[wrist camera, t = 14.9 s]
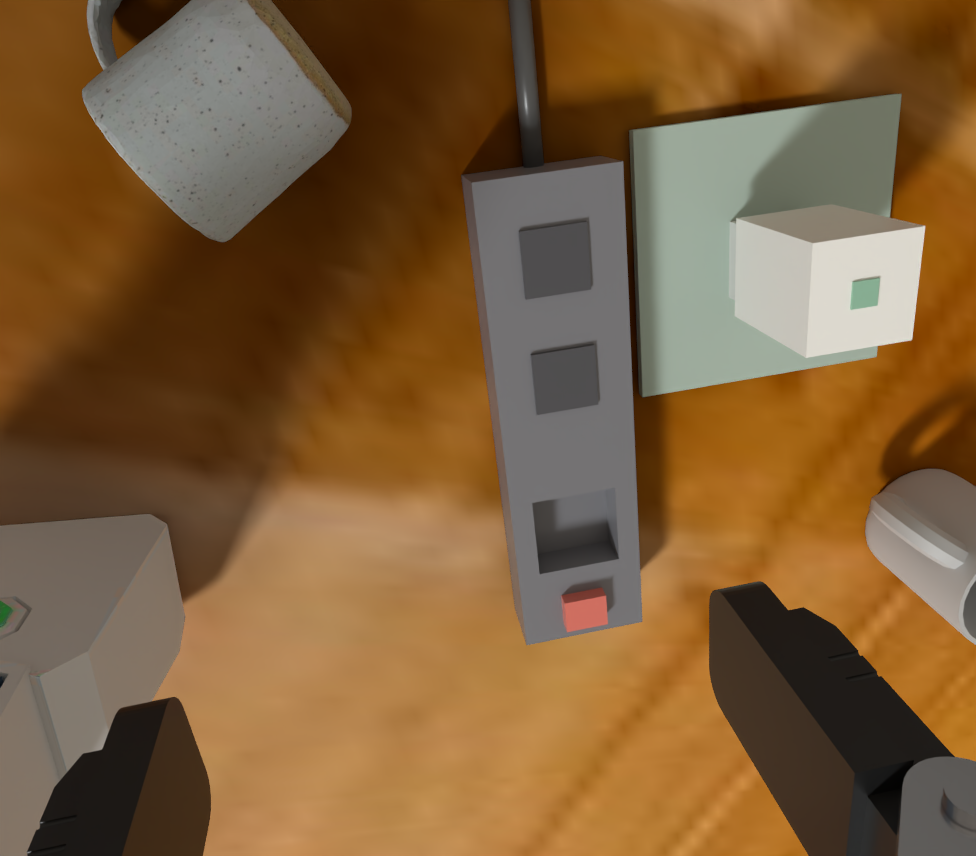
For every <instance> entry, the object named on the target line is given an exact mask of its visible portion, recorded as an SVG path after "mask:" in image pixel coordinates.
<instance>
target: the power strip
mask: <svg viewBox="0 0 976 856" xmlns="http://www.w3.org/2000/svg"><path fill="white" fill-rule="evenodd" d="M508 5H509V16H510V27H511V38H512V49H513V59H514V70H515V81H516V92H517V103H518V114H519V124H520V135H521V146H522V157H523V166H522V167H515V168H508V169H501V170H494V171H487V172H479V173H472V174H465V175H461V177H462V186H463V194H464V202H465V210H466V218H467V226H468V234H469V242H470V250H471V258H472V266H473V274H474V282H475V290H476V298H477V306H478V314H479V322H480V330H481V338H482V347H483V355H484V363H485V371H486V379H487V387H488V395H489V403H490V411H491V419H492V427H493V435H494V443H495V451H496V459H497V467H498V475H499V483H500V491H501V499H502V507H503V516H504V524H505V532H506V540H507V548H508V556H509V564H510V572H511V580H512V588H513V596H514V604H515V610H516V613H517V616H518V620H519V623H520V626H521V629H522V632H523V635H524V638H525V642H526V645H530V644H535V643H540V642H545V641H550V640H554V639H559V638H564V637H569V636H574V635H579V634H584V633H589V632H594V631H599V630H604V629H609V628H614V627H619V626H624V625H629V624H634V623H638V622H642V602H641V578H640V554H639V530H638V506H637V482H636V458H635V434H634V410H633V386H632V362H631V338H630V314H629V290H628V266H627V242H626V218H625V194H624V170H623V161H620V160H616V159H612V158H608V157H604V156H594V157H587V158H580V159H573V160H565V161H558V162H551V163H544V158H543V146H542V134H541V121H540V109H539V97H538V85H537V72H536V60H535V48H534V36H533V24H532V11H531V0H508Z"/></svg>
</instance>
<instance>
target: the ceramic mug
mask: <svg viewBox="0 0 976 856" xmlns="http://www.w3.org/2000/svg"><path fill="white" fill-rule="evenodd" d="M121 1H122V0H88V6H87V21H88V30H89V34H90V38H91V42H92V46H93V48H94V51H95V54H96V56H97V58H98V61H99V62H100V64H101V66H102V68H103V70H104V71H103V72H101V73H100V74H99V75H97V76H96V77H95V78H94V79H93V80H92V81H90V82H89V83H88V84H87V85H86V86H85V87H84V89H83V90H82V96H83V100H84V104H85V106H86V107H87V109H88V112H89V114H90V115H91V117H92V119H93V120H94V122H95V123H96V125H97V126H98V127H99V128H100V130H101V131H102V132H103V134H104V136H105V137H106V139H107V140H108V141H109V142H110V144H111V145H112V146H113V147H114V149H115V150H116V151H117V153H118V154H119V155H120V156H121V157H122V158H123V159H124V160H125V162H126V163H127V164H128V165H129V166H130V167H131V168H132V169H133V171H134V172H135V173H136V174H137V175H138V176H139V177H140V178H141V179H142V180H143V181H144V182H145V183H146V185H147V186H148V187H150V188H151V189H152V190H153V191H154V192H155V193H156V194H157V195H158V196H159V197H160V198H161V199H162V200H163V201H164V202H165V203H166V204H167V205H168V206H169V207H170V208H171V209H172V210H173V211H174V212H175V213H176V214H177V215H178V216H179V217H180V218H181V219H183V220H184V221H185V222H186V223H188V224H189V225H190V226H191V227H193V228H195V229H196V230H198V231H200V232H201V233H202V234H203V235H205V236H206V237H208V238H210V239H212V240H215V241H218V242H226V241H228V240H230V239H231V238H232V237H233V236H235V235H236V234H237V233H238V232H239V231H240V230H241V229H242V228H243V227H244V226H245V225H247V224H248V223H249V222H250V221H251V220H252V219H253V218H254V217H255V216H256V215H258V214H259V213H260V212H261V211H262V210H263V209H264V208H265V207H266V206H268V205H269V204H270V203H271V202H272V201H273V200H275V199H276V198H277V197H278V196H279V195H280V194H281V193H282V192H283V191H284V190H286V189H287V188H288V187H289V186H290V185H291V184H292V183H293V182H294V181H295V180H296V179H297V178H298V177H300V176H301V175H302V174H303V173H304V172H305V171H306V170H308V169H309V168H310V167H311V166H312V165H313V164H315V163H316V162H317V161H318V160H319V159H320V158H322V157H323V156H324V155H325V154H326V153H327V152H328V151H330V150H331V149H332V147H333V146H334V145H335V143H336V142H337V141H338V140H339V138H340V137H341V136H342V135H343V134H344V132H345V131H346V130H347V128H348V127H349V125H350V123H351V117H352V109H351V106H350V103H349V102H348V100H347V99H346V97H345V96H344V95H343V93H342V92H341V90H340V89H339V88H338V86H337V85H336V84H335V82H334V81H333V80H332V78H331V77H330V75H329V74H328V73H327V72H326V70H325V69H324V68H323V66H322V65H321V64H320V62H319V61H318V60H317V58H316V57H315V56H314V54H313V53H312V51H311V50H310V49H309V47H308V46H307V45H306V43H305V42H304V41H303V39H302V38H301V37H300V36H299V34H298V33H297V32H296V31H295V29H294V28H293V27H292V26H291V25H290V23H289V22H288V21H287V20H286V18H285V17H284V16H283V15H282V13H281V12H280V11H279V10H278V8H277V7H276V6H275V5H274V3H273V2H272V1H271V0H191V1H190V2H189V3H188V4H186V5H185V6H184V7H183V8H182V9H181V10H180V11H179V12H177V13H176V14H175V15H174V16H173V17H172V18H171V19H170V20H168V21H167V22H166V23H165V24H163V25H162V26H161V27H160V28H158V29H157V30H156V31H154V32H153V33H152V34H150V35H149V36H148V37H146V38H145V39H144V40H142V41H141V42H140V43H139V44H137V45H136V46H135V47H133V48H132V49H131V50H130V51H128V52H127V53H126V54H125V55H123V56H122V57H121V58H120V59H117V56H116V53H115V49H114V45H113V41H112V22H113V16H114V13H115V11H116V9H117V8H118V7H119V5H120V2H121Z"/></svg>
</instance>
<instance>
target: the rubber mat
mask: <svg viewBox="0 0 976 856" xmlns="http://www.w3.org/2000/svg"><path fill="white" fill-rule="evenodd" d="M901 95H902V94H889V95H882V96H875V97H867V98H860V99H853V100H845V101H838V102H831V103H824V104H816V105H809V106H802V107H794V108H787V109H780V110H772V111H765V112H758V113H750V114H743V115H736V116H728V117H721V118H714V119H707V120H699V121H692V122H685V123H677V124H670V125H663V126H655V127H648V128H641V129H633V130H629V141H630V168H631V194H632V220H633V246H634V273H635V299H636V325H637V351H638V378H639V394H640V395H641V396H642V397H647V396H653V395H659V394H664V393H670V392H676V391H682V390H688V389H693V388H699V387H705V386H711V385H716V384H722V383H728V382H734V381H740V380H745V379H751V378H757V377H763V376H769V375H774V374H780V373H786V372H792V371H798V370H803V369H809V368H815V367H821V366H827V365H832V364H838V363H844V362H850V361H856V360H861V359H867V358H873V357H877V347H878V346H874V347H868V348H862V349H856V350H850V351H844V352H838V353H832V354H826V355H820V356H815V357H809V358H805V357H804V356H802V355H800V354H799V353H797V352H795V351H793V350H792V349H790V348H788V347H787V346H785V345H783V344H781V343H780V342H778V341H776V340H775V339H773V338H771V337H769V336H768V335H766V334H764V333H763V332H761V331H759V330H757V329H756V328H754V327H752V326H751V325H749V324H747V323H746V322H744V321H742V320H740V319H739V318H737V317H735V300H733V299H731V298H730V297H729V236H730V221H736V218H741V217H748V216H755V215H761V214H768V213H775V212H782V211H788V210H795V209H802V208H809V207H815V206H822V205H829V204H833V205H837V206H842V207H846V208H850V209H854V210H859V211H863V212H867V213H872V214H876V215H880V216H884V217H889V218H890V211H891V200H892V190H893V179H894V169H895V158H896V148H897V137H898V127H899V116H900V106H901Z"/></svg>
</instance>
